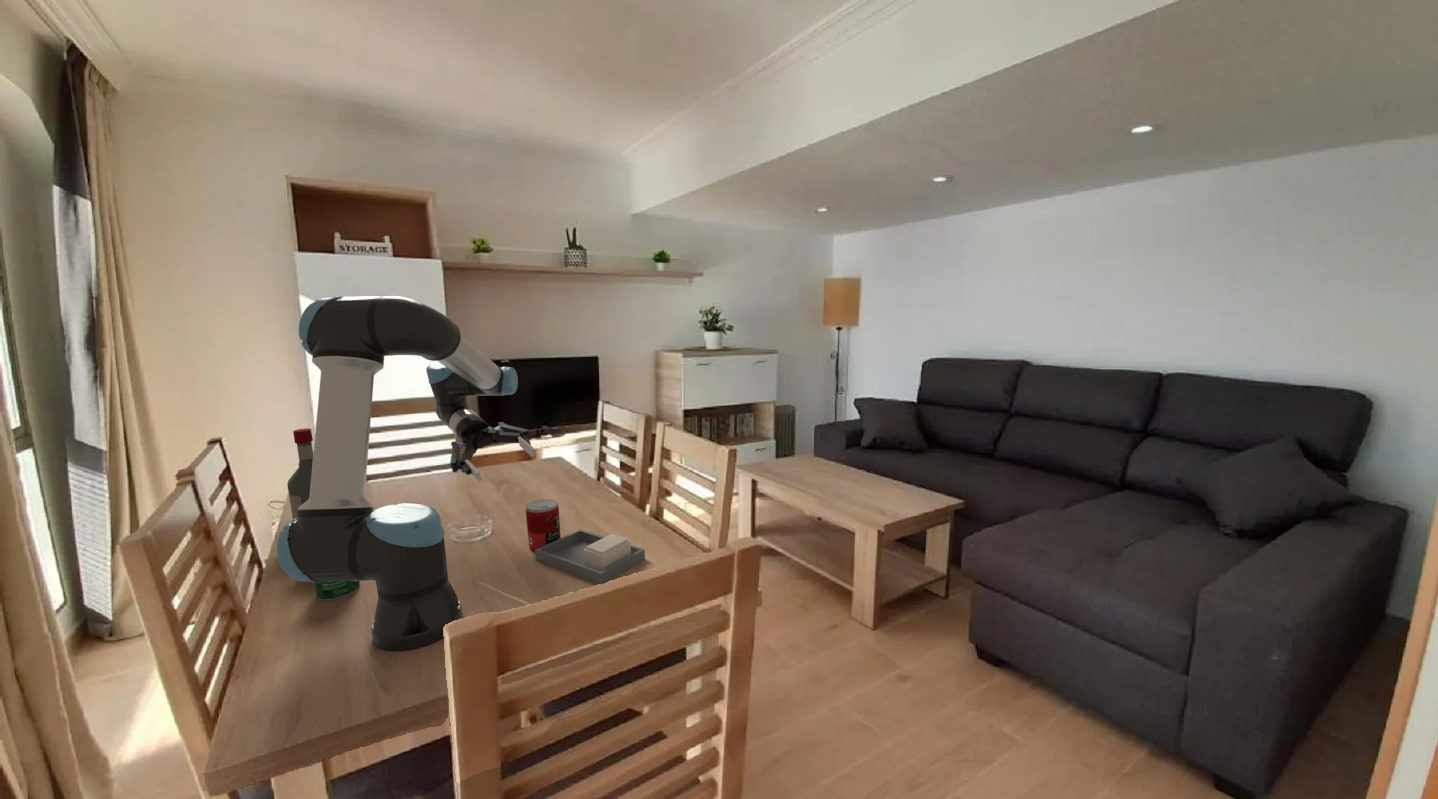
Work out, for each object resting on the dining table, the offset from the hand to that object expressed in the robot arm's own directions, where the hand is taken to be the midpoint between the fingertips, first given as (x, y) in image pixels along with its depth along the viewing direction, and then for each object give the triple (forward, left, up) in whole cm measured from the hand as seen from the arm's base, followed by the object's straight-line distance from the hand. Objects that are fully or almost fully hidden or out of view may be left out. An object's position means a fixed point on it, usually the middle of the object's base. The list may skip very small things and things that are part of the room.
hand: (506, 464), depth 132 cm
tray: (0, -22, -22) cm, 31 cm away
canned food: (+5, -6, -22) cm, 24 cm away
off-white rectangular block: (-1, -27, -22) cm, 35 cm away
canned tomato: (-28, +23, -22) cm, 43 cm away
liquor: (-11, +53, -22) cm, 59 cm away
